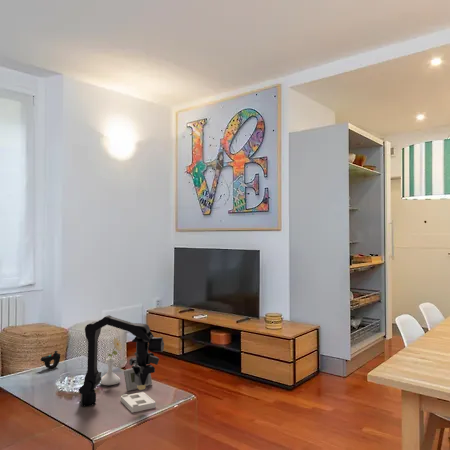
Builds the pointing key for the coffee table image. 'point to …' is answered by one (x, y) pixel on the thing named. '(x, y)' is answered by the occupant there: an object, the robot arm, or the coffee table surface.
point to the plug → (138, 382)
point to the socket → (138, 402)
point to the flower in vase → (110, 376)
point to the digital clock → (133, 379)
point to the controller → (49, 358)
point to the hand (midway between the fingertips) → (141, 383)
